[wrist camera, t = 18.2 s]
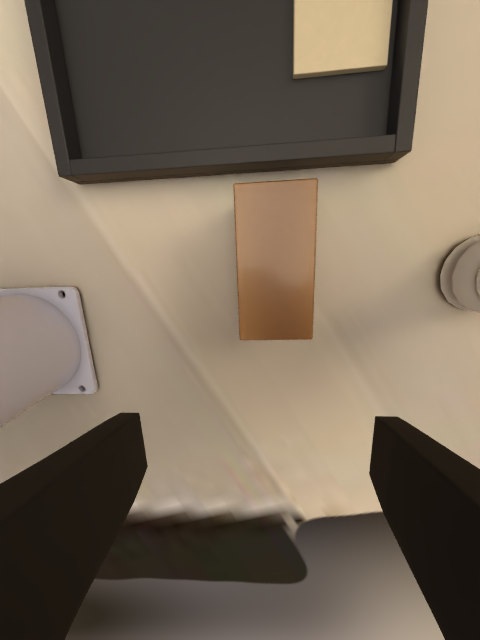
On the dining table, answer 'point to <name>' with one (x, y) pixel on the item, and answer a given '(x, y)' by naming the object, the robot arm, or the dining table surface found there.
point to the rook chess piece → (463, 275)
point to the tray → (211, 90)
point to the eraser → (276, 258)
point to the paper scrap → (340, 36)
